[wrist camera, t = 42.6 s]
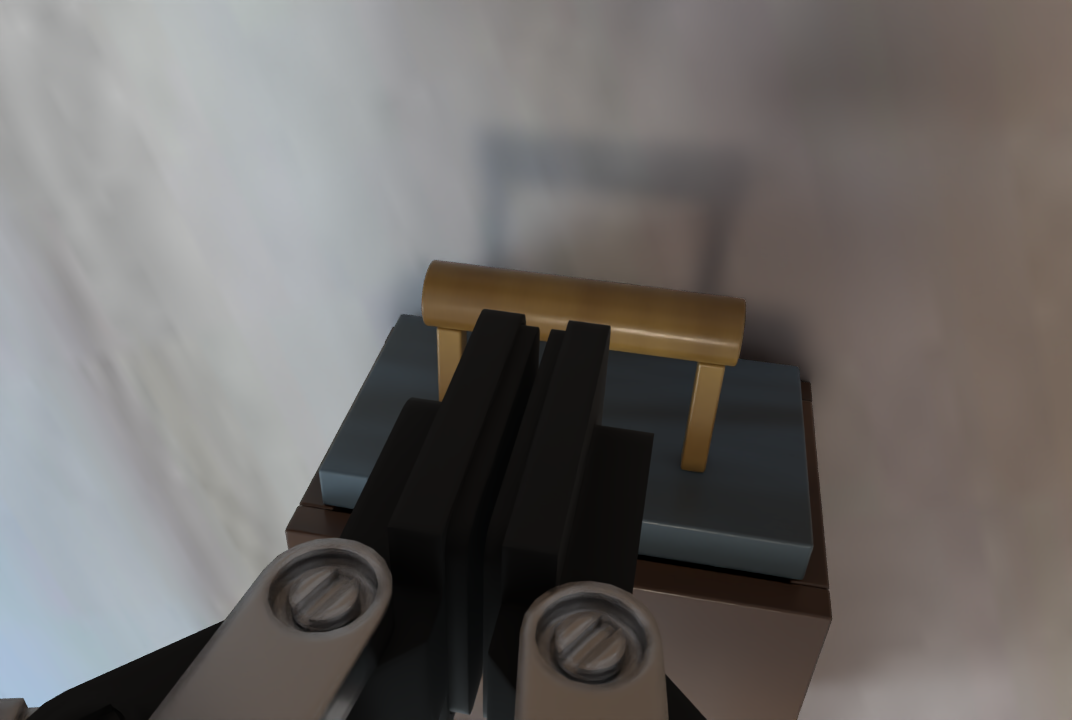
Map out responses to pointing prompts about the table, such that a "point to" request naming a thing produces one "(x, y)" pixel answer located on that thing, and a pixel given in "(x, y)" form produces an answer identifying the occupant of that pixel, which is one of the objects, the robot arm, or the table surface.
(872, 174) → the table surface
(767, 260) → the table surface
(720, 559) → the drawer
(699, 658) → the cabinet
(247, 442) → the table surface
